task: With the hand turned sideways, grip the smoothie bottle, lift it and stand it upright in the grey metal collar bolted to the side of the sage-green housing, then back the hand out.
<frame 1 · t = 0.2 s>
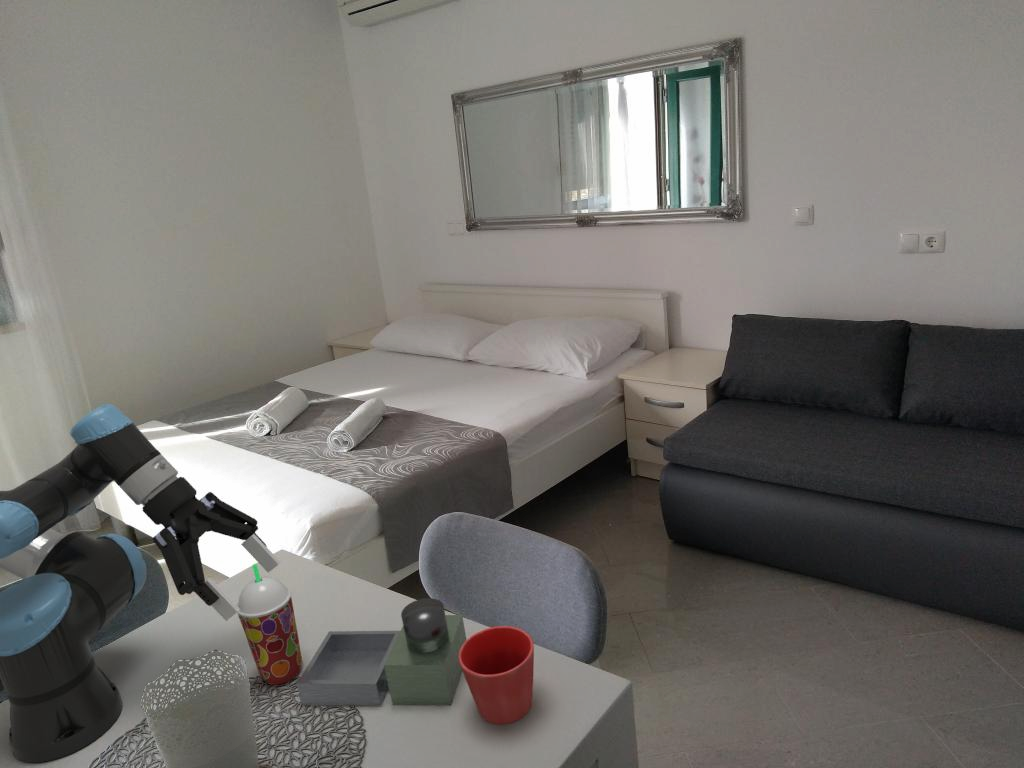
hand: (255, 590, 120), 15 cm above the table, tool tilted 35°, fingers open, 13 cm apart
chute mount: (356, 677, 119), on the table
smoothie: (283, 674, 123), on the table
flower pot: (505, 707, 109), on the table
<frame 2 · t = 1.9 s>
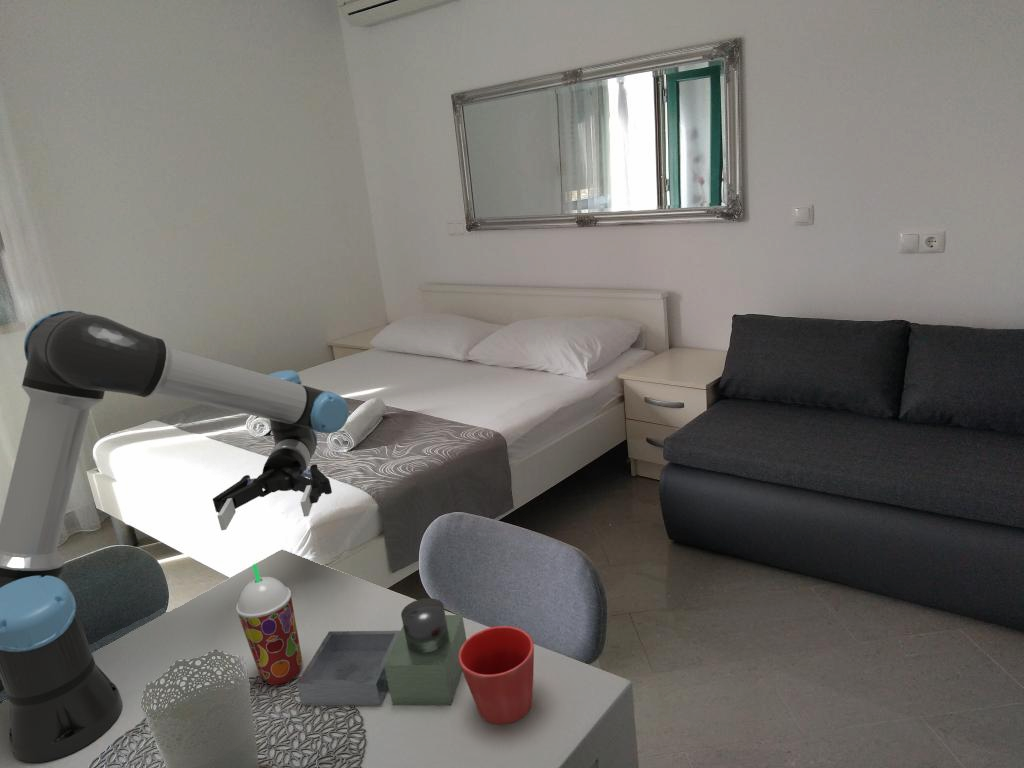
hand: (263, 516, 125), 24 cm above the table, tool horizontal, fingers open, 13 cm apart
nothing on the table moved.
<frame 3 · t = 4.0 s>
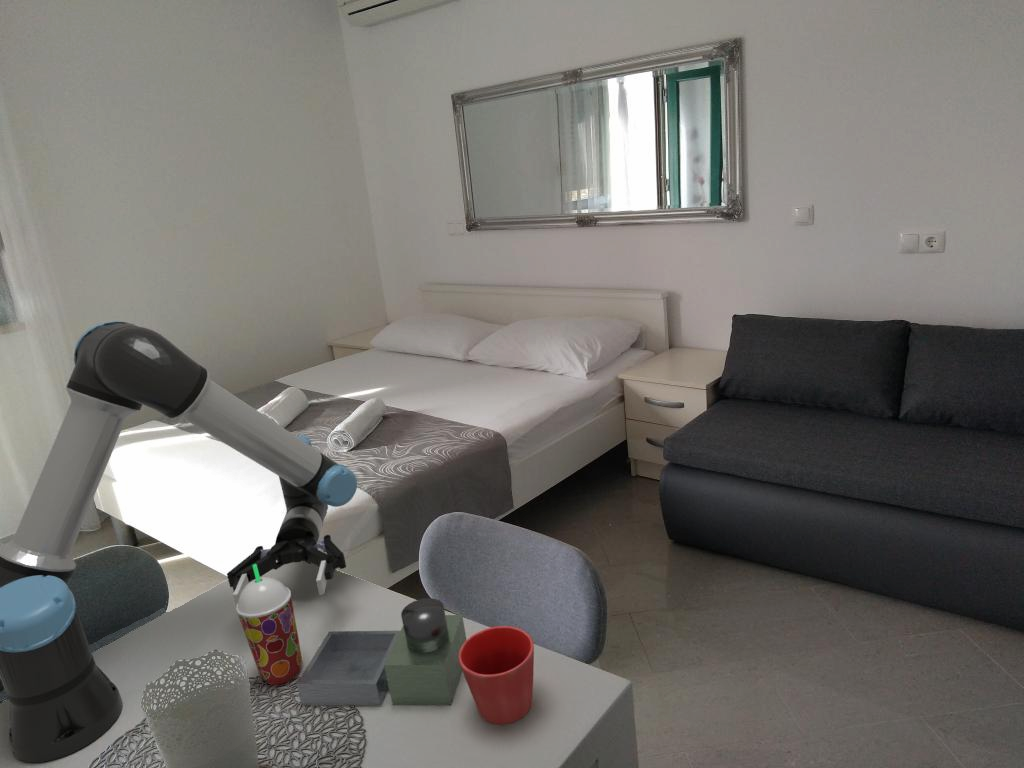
hand: (278, 594, 125), 11 cm above the table, tool horizontal, fingers open, 13 cm apart
nothing on the table moved.
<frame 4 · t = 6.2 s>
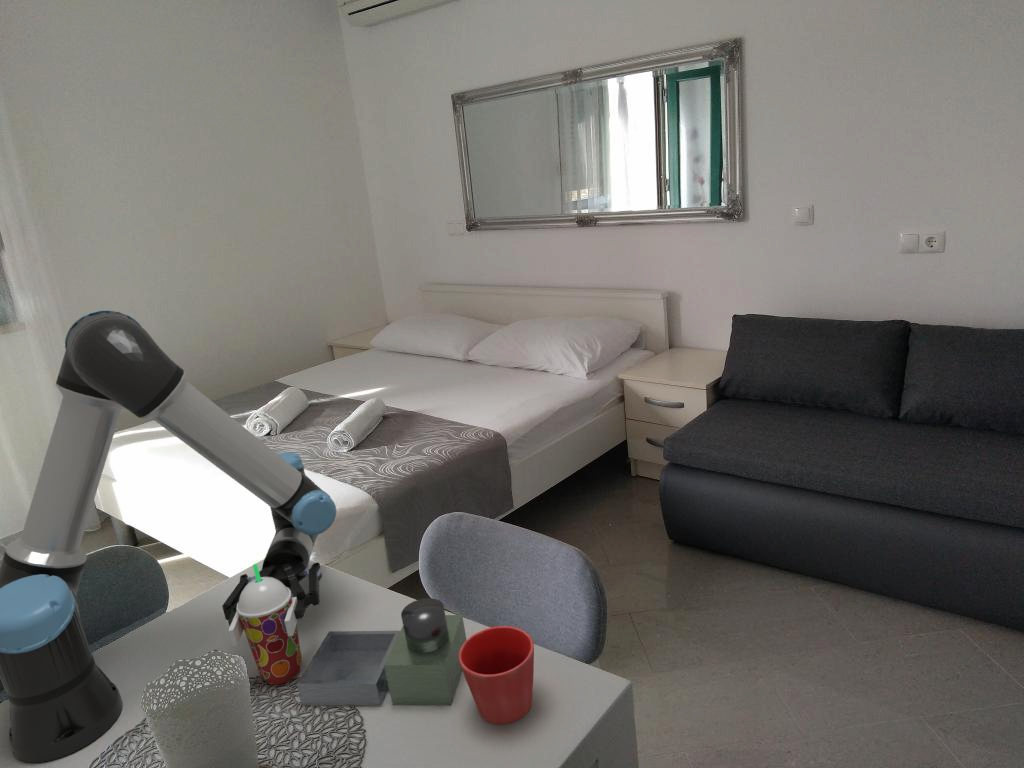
hand: (260, 633, 115), 11 cm above the table, tool horizontal, fingers closed on smoothie, 8 cm apart
smoothie: (282, 674, 123), on the table, touching gripper
everything else where it was.
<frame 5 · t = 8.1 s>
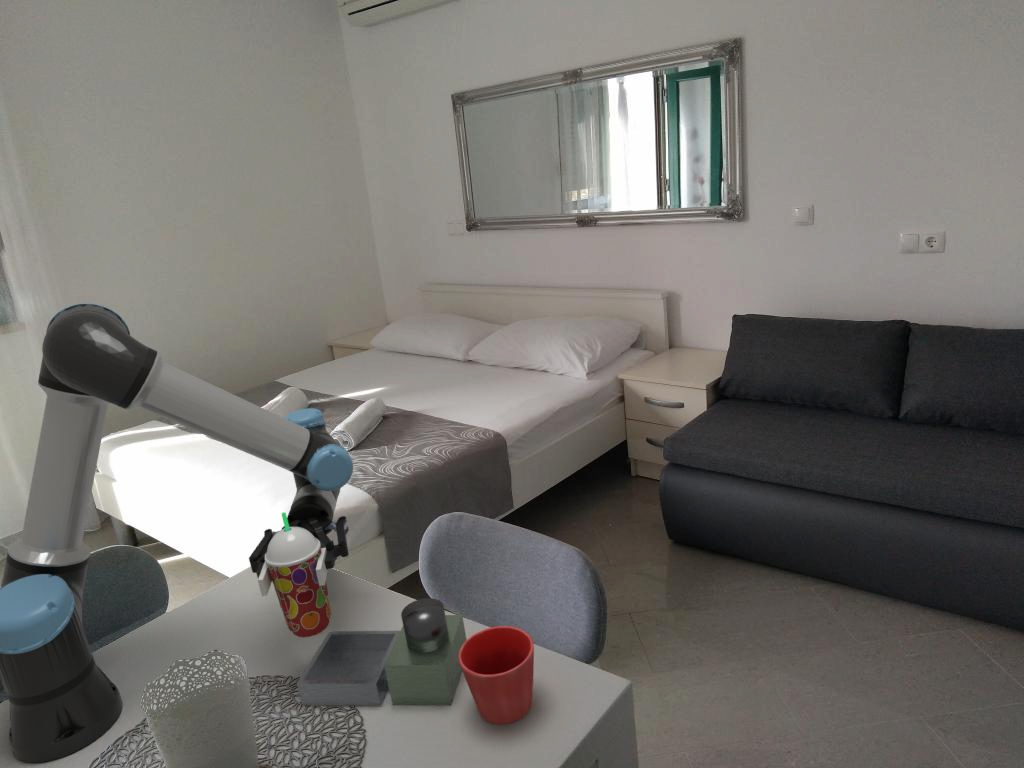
hand: (291, 582, 112), 19 cm above the table, tool horizontal, fingers closed on smoothie, 8 cm apart
smoothie: (311, 628, 119), point 8 cm above the table, touching gripper
everything else where it was.
when the fingers open (13 cm above the table, at t = 10.2 s): smoothie drops 1 cm, resting on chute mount.
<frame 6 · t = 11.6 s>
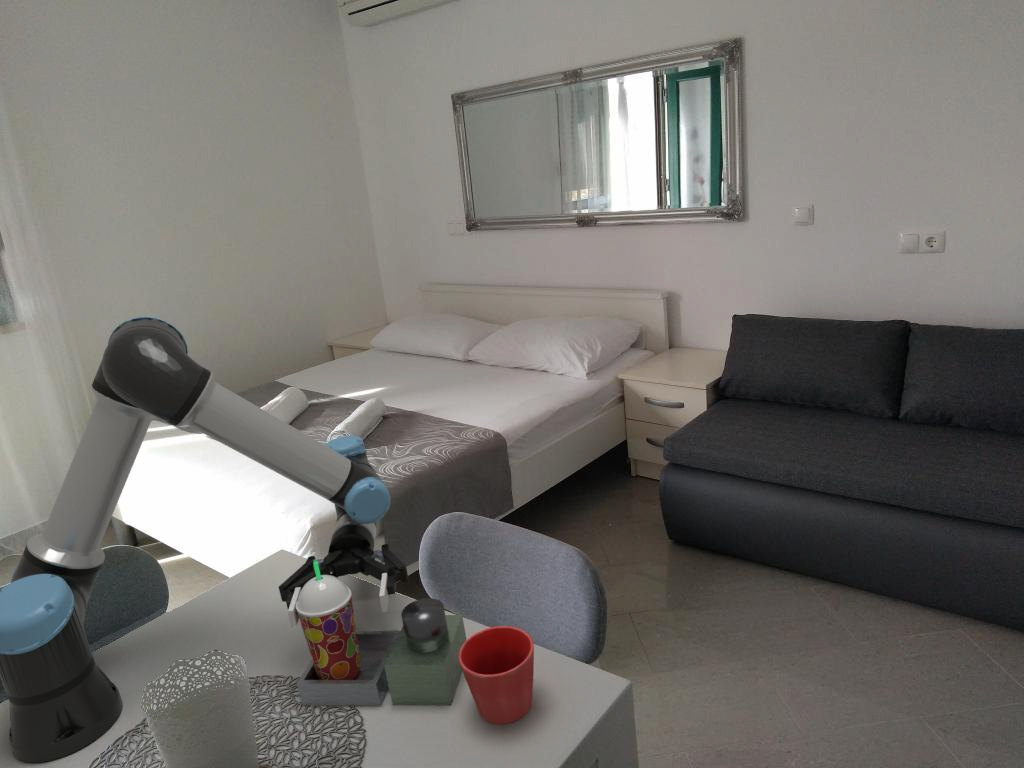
hand: (337, 611, 113), 14 cm above the table, tool horizontal, fingers open, 13 cm apart
smoothie: (340, 676, 119), point 1 cm above the table, touching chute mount, gripper
everything else where it was.
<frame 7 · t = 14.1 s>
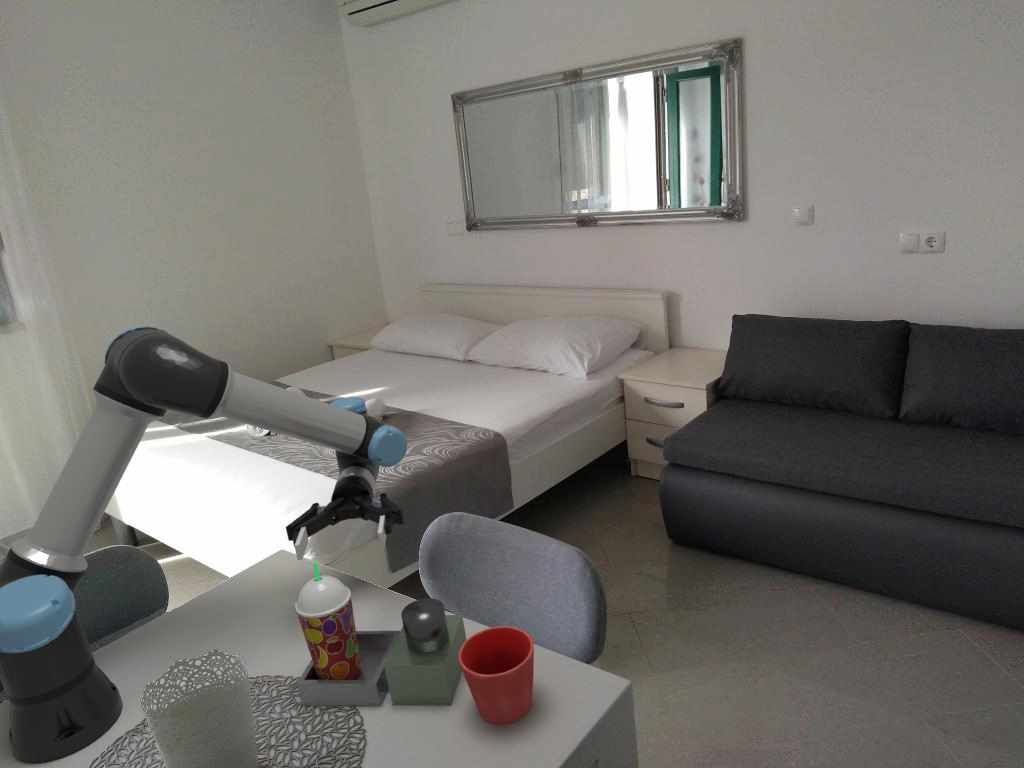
hand: (339, 546, 125), 17 cm above the table, tool horizontal, fingers open, 13 cm apart
smoothie: (341, 676, 119), point 1 cm above the table, touching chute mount
everything else where it was.
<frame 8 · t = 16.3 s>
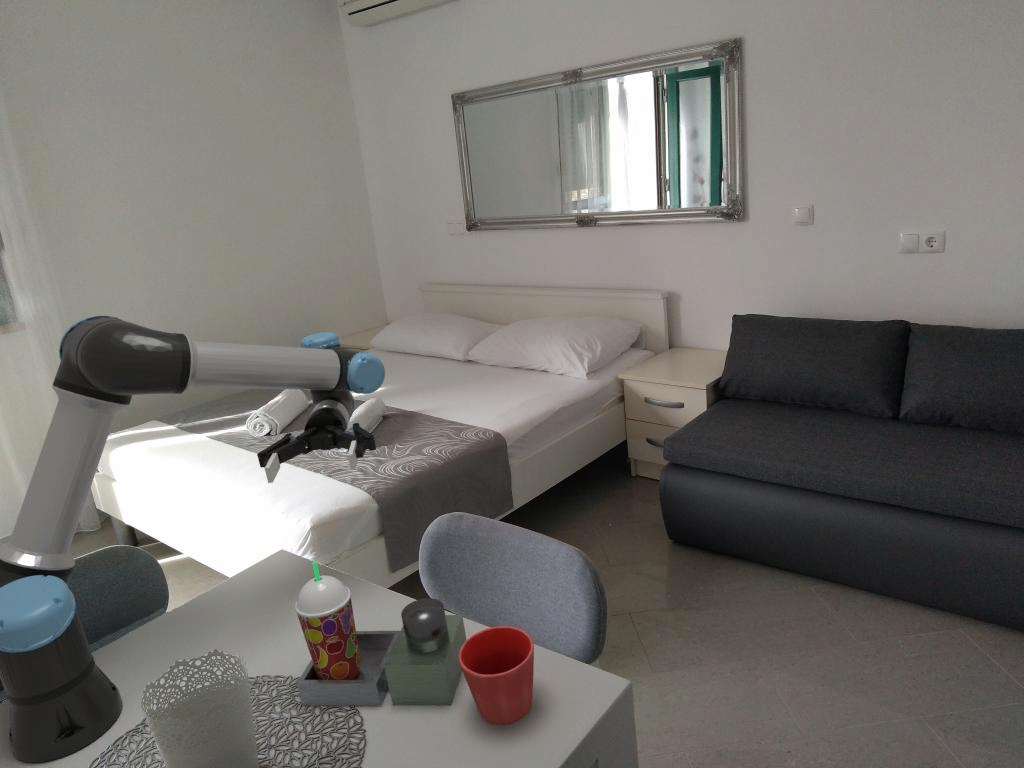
hand: (310, 468, 125), 30 cm above the table, tool horizontal, fingers open, 13 cm apart
nothing on the table moved.
at the end: smoothie 2.2 cm off-centre on the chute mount, point 0.8 cm above the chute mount's base; smoothie tilted 0°; the gripper is holding nothing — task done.
